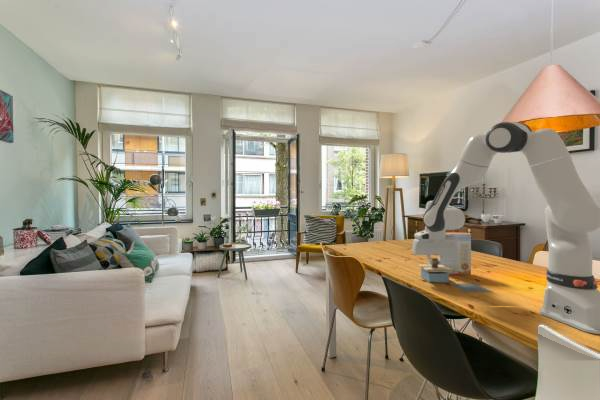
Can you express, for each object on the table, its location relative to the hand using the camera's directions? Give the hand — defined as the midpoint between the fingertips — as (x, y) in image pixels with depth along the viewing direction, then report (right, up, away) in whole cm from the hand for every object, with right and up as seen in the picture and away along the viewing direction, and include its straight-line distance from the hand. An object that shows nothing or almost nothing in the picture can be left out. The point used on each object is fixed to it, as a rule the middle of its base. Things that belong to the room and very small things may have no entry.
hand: (434, 264), depth 142 cm
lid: (0, -2, 0) cm, 2 cm away
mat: (+10, -8, -12) cm, 17 cm away
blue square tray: (0, -8, 0) cm, 8 cm away
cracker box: (+15, -8, +12) cm, 20 cm away
